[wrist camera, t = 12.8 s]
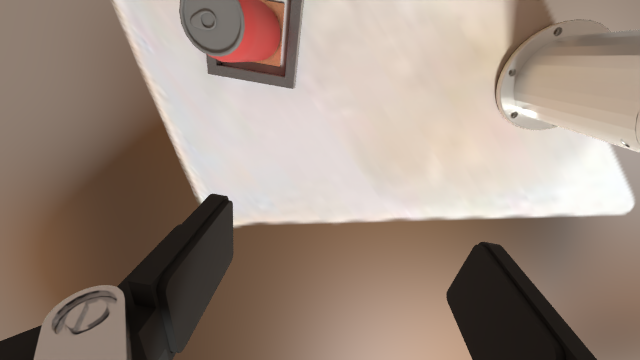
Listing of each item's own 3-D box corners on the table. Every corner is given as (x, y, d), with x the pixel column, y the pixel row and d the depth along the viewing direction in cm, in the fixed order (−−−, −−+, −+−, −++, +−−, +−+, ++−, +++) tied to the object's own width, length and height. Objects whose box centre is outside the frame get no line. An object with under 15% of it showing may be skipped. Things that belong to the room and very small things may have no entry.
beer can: (225, 4, 30) (160, -25, 19) (276, -3, 29) (239, -37, 18) (238, 63, 33) (188, 66, 22) (285, 58, 32) (257, 59, 21)
